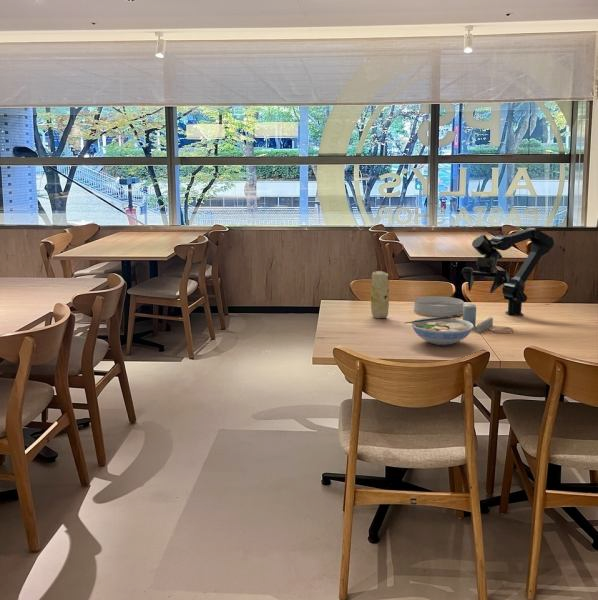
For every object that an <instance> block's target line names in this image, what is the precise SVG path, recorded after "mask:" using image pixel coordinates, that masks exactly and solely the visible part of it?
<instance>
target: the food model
mask: <svg viewBox="0 0 598 600" xmlns="http://www.w3.org/2000/svg"><path fill="white" fill-rule="evenodd" d="M370 283H371V285H370V309H371V315H372V317H373V318H375V319H380V318H383V319H384V318H385V319H386V318H388V315H389V307H390V275H389V274H388V273H387V272H385V271H381V270H377V271H373V272H372V273H371V282H370Z"/></svg>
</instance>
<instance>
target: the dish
mask: <svg viewBox="0 0 598 600" xmlns="http://www.w3.org/2000/svg"><path fill="white" fill-rule="evenodd" d="M413 305H414V306H413V311H414V313H416V314H418V313H419V315H423V316H429V317H443V316H450V315H456V314H457V315H460V316H461V315H463V309H464V305H465V304H464V300H462V299H461V298H456V297H451V296H440V295H439V296H438V295H437V296H436V295H435V296H434V295H433V296H432V295H431V296H421V297H418V298H415V299H414V304H413Z"/></svg>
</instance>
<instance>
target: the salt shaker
mask: <svg viewBox="0 0 598 600" xmlns="http://www.w3.org/2000/svg"><path fill="white" fill-rule="evenodd" d="M463 307H464V309H463V314H462V320H465V321H468V322H470V323H472V324H473V326H474V327H473V329H475V328H476V326H477V325H476V323H477V322H476V321H477V306H476V304H472V303H466V304H463Z"/></svg>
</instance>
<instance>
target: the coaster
mask: <svg viewBox="0 0 598 600" xmlns="http://www.w3.org/2000/svg"><path fill="white" fill-rule="evenodd" d="M488 331H489V332H490V333H494V332H495V333H494V334H503V333H504V334H511V333H510V332H512V331H513V332H514V329H513V328H512V327H510V326H509V327H508V326H505V325H504V326H503V325H495V326H493V325H492V326H490V327H488ZM513 332H512V333H513Z"/></svg>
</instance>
